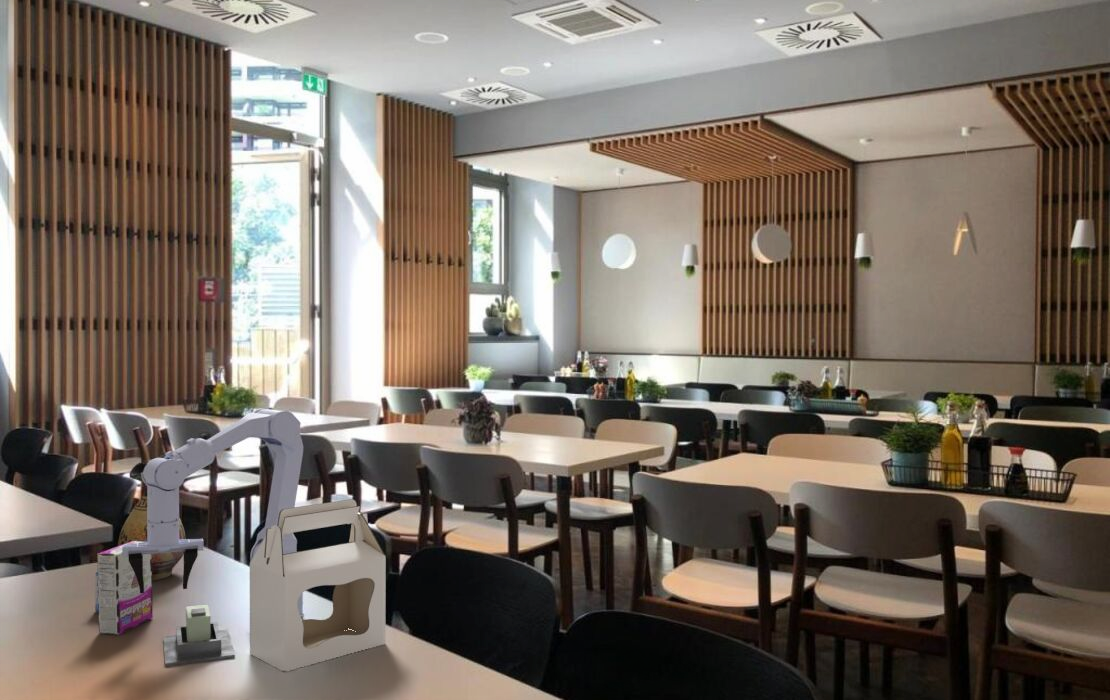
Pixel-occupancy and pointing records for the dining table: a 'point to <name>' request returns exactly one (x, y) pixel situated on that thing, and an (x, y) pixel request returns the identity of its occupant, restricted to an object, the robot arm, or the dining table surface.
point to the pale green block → (197, 623)
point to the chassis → (197, 647)
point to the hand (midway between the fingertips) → (163, 589)
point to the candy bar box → (122, 592)
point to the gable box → (289, 575)
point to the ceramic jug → (138, 531)
